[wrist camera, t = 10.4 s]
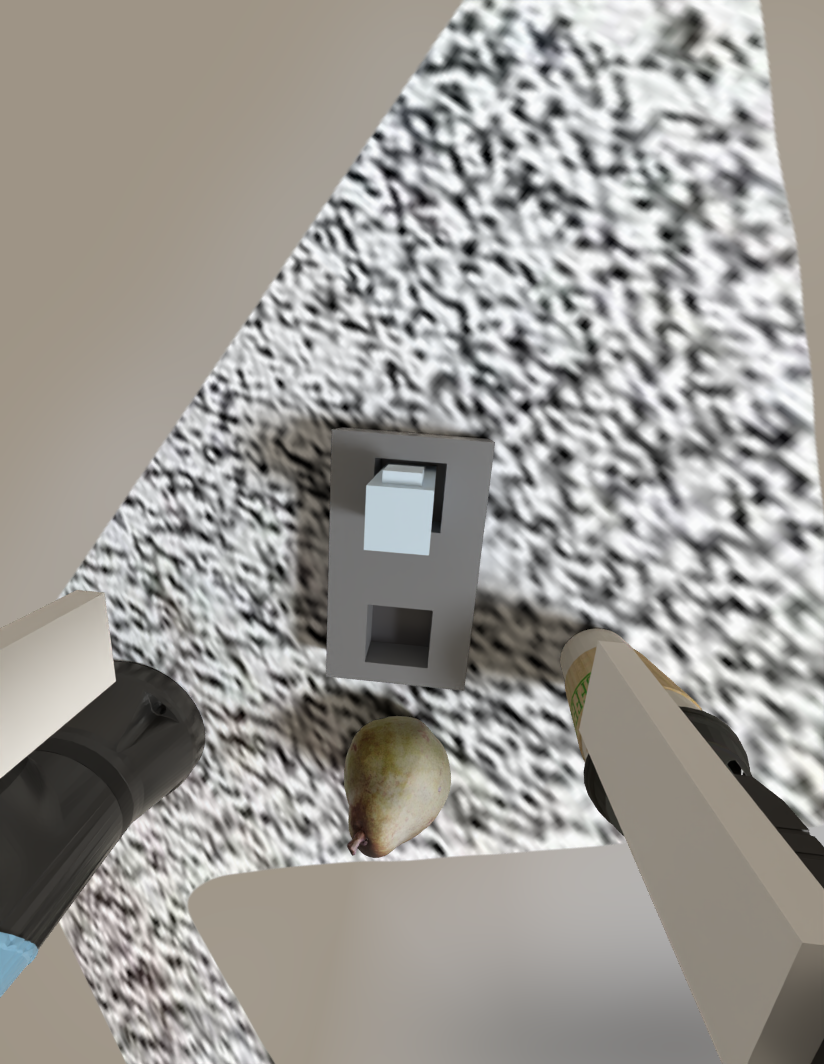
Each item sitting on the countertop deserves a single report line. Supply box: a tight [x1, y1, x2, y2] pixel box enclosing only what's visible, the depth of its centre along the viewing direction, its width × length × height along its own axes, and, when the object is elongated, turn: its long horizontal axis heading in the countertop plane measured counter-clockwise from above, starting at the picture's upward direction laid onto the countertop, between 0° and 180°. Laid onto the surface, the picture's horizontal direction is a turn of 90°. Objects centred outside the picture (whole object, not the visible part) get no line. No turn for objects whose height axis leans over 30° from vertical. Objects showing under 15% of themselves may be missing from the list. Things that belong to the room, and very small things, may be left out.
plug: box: [364, 463, 437, 555], centre depth 31 cm, size 4×5×11 cm
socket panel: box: [326, 427, 495, 691], centre depth 37 cm, size 12×21×4 cm, turn 176°
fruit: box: [344, 716, 451, 858], centre depth 39 cm, size 10×9×12 cm
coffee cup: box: [560, 628, 752, 836], centre depth 33 cm, size 10×10×15 cm
